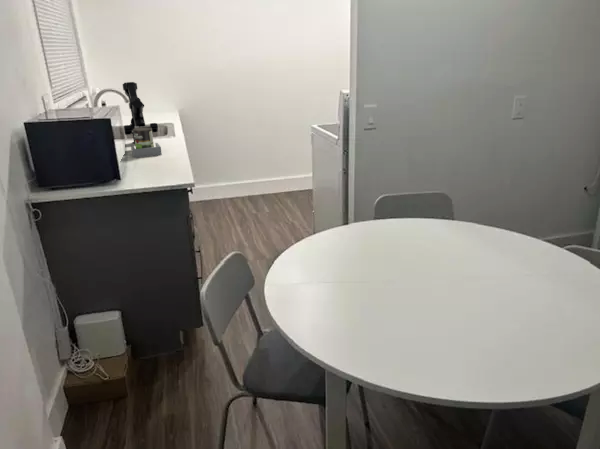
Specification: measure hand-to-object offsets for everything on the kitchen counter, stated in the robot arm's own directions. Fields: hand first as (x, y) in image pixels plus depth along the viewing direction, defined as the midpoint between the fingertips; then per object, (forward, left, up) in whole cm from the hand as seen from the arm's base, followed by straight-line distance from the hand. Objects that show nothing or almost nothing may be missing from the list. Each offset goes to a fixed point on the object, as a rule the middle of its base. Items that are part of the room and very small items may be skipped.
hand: (143, 140), depth 271 cm
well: (+4, -4, -6) cm, 9 cm away
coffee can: (+3, -4, -7) cm, 8 cm away
